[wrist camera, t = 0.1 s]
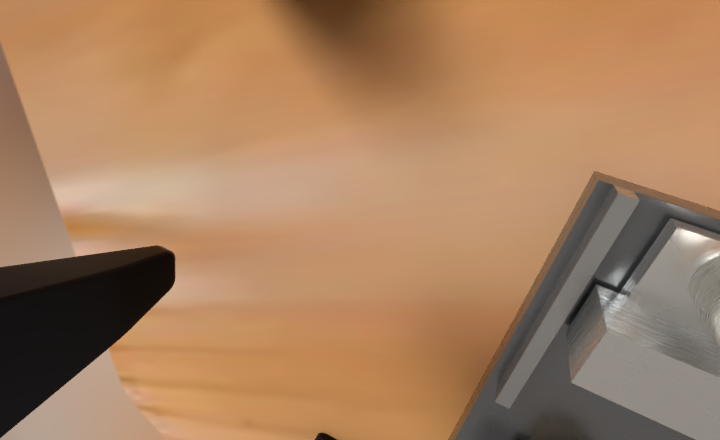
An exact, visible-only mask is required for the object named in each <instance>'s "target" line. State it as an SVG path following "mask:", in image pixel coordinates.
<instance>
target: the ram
mask: <svg viewBox="0 0 720 440" xmlns="http://www.w3.org/2000/svg"><path fill="white" fill-rule="evenodd" d="M566 336H567V346H568V357H569V367H570V378H571V383H573V384H575V385H577V386H580V387H582V388H584V389H586V390H588V391H591V392H593V393H595V394H597V395H599V396H601V397H604V398H606V399H608V400H610V401H612V402H615V403H617V404H619V405H621V406H623V407H625V408H628V409H630V410H632V411H634V412H636V413H639V414H641V415H643V416H645V417H647V418H650V419H652V420H654V421H656V422H658V423H660V424H663V425H665V426H667V427H669V428H671V429H674V430H676V431H678V432H680V433H682V434H684V435H687V436H689V437H691V438H693V439H695V440H720V234H717V233H714V232H711V231H708V230H705V229H702V228H699V227H696V226H693V225H690V224H687V223H684V222H681V221H678V220H675V219H672V218H670V219H669V221H668V222H667V224H666V225H665V227H664V228H663V230H662V231H661V233H660V234H659V236H658V237H657V238H656V240H655V241H654V243H653V244H652V246H651V247H650V249H649V250H648V252H647V253H646V255H645V256H644V257H643V259H642V260H641V262H640V263H639V265H638V266H637V268H636V269H635V271H634V272H633V274H632V275H631V276H630V278H629V279H628V281H627V282H626V284H625V285H624V287H623V288H622V290H621V291H620V292H619V293H617V292H614V291H612V290H609V289H607V288H604V287H602V286H599V285H597V284H596V285H595V287H594V288H593V290H592V291H591V293H590V295H589V296H588V298H587V299H586V301H585V302H584V304H583V306H582V307H581V309H580V310H579V312H578V313H577V315H576V316H575V318H574V320H573V321H572V323H571V324H570V326H569V327H568V329H567V331H566Z"/></svg>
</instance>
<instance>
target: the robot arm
mask: <svg viewBox="0 0 720 440" xmlns="http://www.w3.org/2000/svg"><path fill="white" fill-rule="evenodd" d="M174 282H175V255H174V253H173V252H172V251H170V250H168V249H166V248H164V247H162V246H149V247H142V248H135V249H128V250H121V251H114V252H107V253H99V254H92V255H85V256H78V257H71V258H64V259H57V260H50V261H43V262H35V263H29V264H21V265H14V266H6V267H0V438H1V437H2V436H3V435H5V434H6V433H7V432H8V431H9V430H11V429H12V428H13V427H14V426H15V425H17V424H18V423H19V422H20V421H21V420H23V419H24V418H25V417H26V416H27V415H29V414H30V413H31V412H32V411H33V410H35V409H36V408H37V407H38V406H40V405H41V404H42V403H43V402H44V401H45V400H47V399H48V398H49V397H50V396H51V395H53V394H54V393H55V392H56V391H58V390H59V389H60V388H61V387H62V386H64V385H65V384H66V383H67V382H68V381H70V380H71V379H72V378H73V377H75V376H76V375H77V374H78V373H79V372H80V371H82V370H83V369H84V368H85V367H87V366H88V365H89V364H90V363H91V362H93V361H94V360H95V359H96V358H97V357H99V356H100V355H101V354H102V353H103V352H104V351H106V350H107V349H108V348H110V347H111V346H112V345H113V344H114V343H115V342H117V341H118V340H119V339H120V338H121V337H122V336H123V335H124V334H126V333H127V332H128V331H129V330H130V329H131V328H132V327H133V326H134V325H135V324H136V323H137V322H138V321H139V320H140V319H141V318H142V317H143V316H144V315H145V314H146V313H147V312H148V311H149V310H150V309H151V308H152V307H153V306H154V305H155V304H156V303H157V302H158V301H159V300H160V299H161V298H162V297H163V296H164V295H165V294H166V293H167V292H168V291H169V290H170V289H171V288H172V286H173V284H174ZM315 440H333V439H332V438H330V437H328V436H326V435H325V434H323V433H319V434H318V435H317V437H316V439H315Z"/></svg>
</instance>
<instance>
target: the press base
mask: <svg viewBox="0 0 720 440" xmlns="http://www.w3.org/2000/svg"><path fill="white" fill-rule="evenodd" d="M670 218H672V219H675V220H678V221H681V222H684V223H687V224H690V225H693V226H696V227H699V228H702V229H705V230H708V231H711V232H714V233H717V234H720V211H717V210H714V209H711V208H708V207H705V206H702V205H698V204H695V203H692V202H689V201H686V200H683V199H680V198H677V197H673V196H670V195H667V194H664V193H661V192H658V191H655V190H652V189H648V188H645V187H642V186H639V185H636V184H633V183H630V182H627V181H623V180H620V179H617V178H614V177H611V176H608V175H605V174H602V173H598V172H595V171H594V173H593V175H592V177H591V179H590V181H589V183H588V184H587V186H586V188H585V190H584V192H583V194H582V195H581V197H580V199H579V201H578V203H577V205H576V206H575V208H574V210H573V212H572V214H571V216H570V217H569V219H568V221H567V223H566V225H565V227H564V228H563V230H562V232H561V234H560V236H559V238H558V239H557V241H556V243H555V245H554V247H553V249H552V250H551V252H550V254H549V256H548V258H547V260H546V262H545V263H544V265H543V267H542V269H541V271H540V273H539V274H538V276H537V278H536V280H535V282H534V284H533V285H532V287H531V289H530V291H529V293H528V295H527V296H526V298H525V300H524V302H523V304H522V306H521V307H520V309H519V311H518V313H517V315H516V317H515V318H514V320H513V322H512V324H511V326H510V328H509V329H508V331H507V333H506V335H505V337H504V339H503V340H502V342H501V344H500V346H499V348H498V350H497V352H496V353H495V355H494V357H493V359H492V361H491V363H490V364H489V366H488V368H487V370H486V372H485V374H484V375H483V377H482V379H481V381H480V383H479V385H478V386H477V388H476V390H475V392H474V394H473V396H472V397H471V399H470V401H469V403H468V405H467V407H466V408H465V410H464V412H463V414H462V416H461V418H460V419H459V421H458V423H457V425H456V427H455V429H454V431H453V432H452V434H451V436H450V438H449V440H695V439H693V438H691V437H689V436H687V435H684V434H682V433H680V432H678V431H676V430H674V429H671V428H669V427H667V426H665V425H663V424H660V423H658V422H656V421H654V420H652V419H650V418H647V417H645V416H643V415H641V414H639V413H636V412H634V411H632V410H630V409H628V408H625V407H623V406H621V405H619V404H617V403H615V402H612V401H610V400H608V399H606V398H604V397H601V396H599V395H597V394H595V393H593V392H591V391H588V390H586V389H584V388H582V387H580V386H577V385H575V384H573V383H571V378H570V367H569V357H568V346H567V336H566V331H567V329H568V327H569V326H570V324H571V323H572V321H573V320H574V318H575V316H576V315H577V313H578V312H579V310H580V309H581V307H582V306H583V304H584V302H585V301H586V299H587V298H588V296H589V295H590V293H591V291H592V290H593V288H594V287H595V285H596V284H597V285H599V286H602V287H604V288H607V289H609V290H612V291H614V292H617V293H619V292H620V291H621V290H622V288H623V287H624V285H625V284H626V282H627V281H628V279H629V278H630V276H631V275H632V274H633V272H634V271H635V269H636V268H637V266H638V265H639V263H640V262H641V260H642V259H643V257H644V256H645V255H646V253H647V252H648V250H649V249H650V247H651V246H652V244H653V243H654V241H655V240H656V238H657V237H658V236H659V234H660V233H661V231H662V230H663V228H664V227H665V225H666V224H667V222H668V221H669V219H670Z"/></svg>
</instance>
